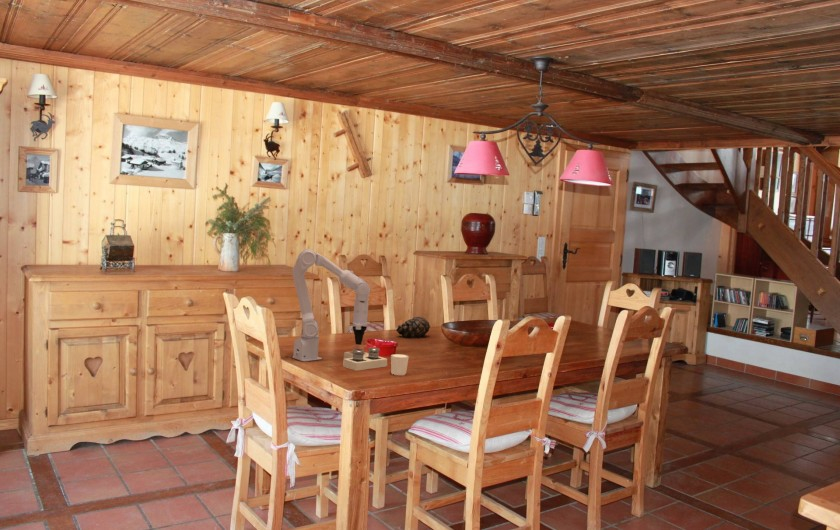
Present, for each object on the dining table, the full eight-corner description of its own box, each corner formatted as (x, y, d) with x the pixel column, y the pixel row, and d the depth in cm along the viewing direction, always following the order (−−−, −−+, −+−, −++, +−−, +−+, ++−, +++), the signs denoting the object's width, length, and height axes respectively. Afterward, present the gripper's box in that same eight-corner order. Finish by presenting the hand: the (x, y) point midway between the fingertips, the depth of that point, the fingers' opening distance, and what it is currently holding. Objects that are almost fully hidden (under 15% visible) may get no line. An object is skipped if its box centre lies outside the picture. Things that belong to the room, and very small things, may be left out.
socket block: (356, 370, 273) (356, 363, 273) (327, 361, 285) (328, 354, 285) (386, 366, 285) (387, 359, 284) (358, 357, 297) (359, 350, 297)
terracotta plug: (356, 358, 288) (357, 347, 287) (349, 356, 291) (350, 345, 291) (365, 357, 291) (366, 346, 291) (358, 355, 294) (359, 344, 294)
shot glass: (407, 372, 278) (408, 354, 277) (407, 376, 271) (409, 358, 270) (389, 371, 277) (391, 353, 277) (389, 375, 270) (390, 357, 270)
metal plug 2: (372, 361, 281) (373, 350, 281) (365, 358, 284) (365, 347, 284) (381, 360, 284) (382, 349, 284) (373, 357, 288) (374, 346, 287)
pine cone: (393, 336, 350) (394, 316, 349) (417, 333, 363) (419, 314, 362) (408, 340, 343) (410, 320, 342) (433, 337, 356) (434, 317, 355)
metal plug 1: (357, 363, 275) (357, 352, 275) (349, 360, 279) (350, 349, 278) (366, 362, 279) (366, 351, 278) (358, 359, 282) (359, 348, 282)
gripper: (369, 314, 282) (366, 348, 283) (371, 309, 297) (369, 341, 298) (351, 313, 282) (349, 347, 283) (354, 308, 297) (352, 340, 298)
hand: (358, 344), depth 291 cm, fingers closed
